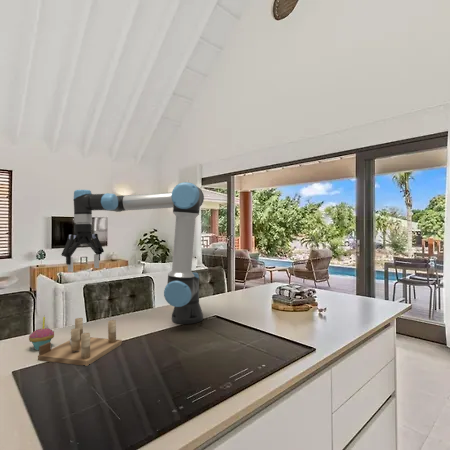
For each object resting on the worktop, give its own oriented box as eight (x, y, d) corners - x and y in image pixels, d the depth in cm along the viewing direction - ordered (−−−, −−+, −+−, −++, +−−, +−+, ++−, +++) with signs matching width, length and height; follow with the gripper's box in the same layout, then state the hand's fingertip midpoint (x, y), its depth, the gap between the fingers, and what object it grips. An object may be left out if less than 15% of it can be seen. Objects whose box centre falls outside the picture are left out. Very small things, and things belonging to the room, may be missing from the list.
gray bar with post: (76, 339, 126) (76, 320, 126) (80, 351, 114) (80, 329, 114) (68, 340, 125) (68, 321, 125) (71, 353, 113) (71, 331, 113)
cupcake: (36, 344, 127) (35, 313, 127) (58, 343, 128) (58, 312, 128) (24, 352, 119) (24, 320, 119) (48, 351, 120) (48, 319, 120)
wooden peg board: (121, 344, 126) (121, 319, 126) (87, 365, 107) (86, 337, 107) (78, 340, 131) (77, 316, 131) (37, 360, 112) (37, 332, 112)
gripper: (100, 223, 161) (101, 266, 161) (52, 224, 140) (53, 273, 140) (110, 223, 158) (111, 266, 158) (62, 223, 136) (63, 274, 136)
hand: (84, 269), depth 149 cm, fingers open, 13 cm apart
